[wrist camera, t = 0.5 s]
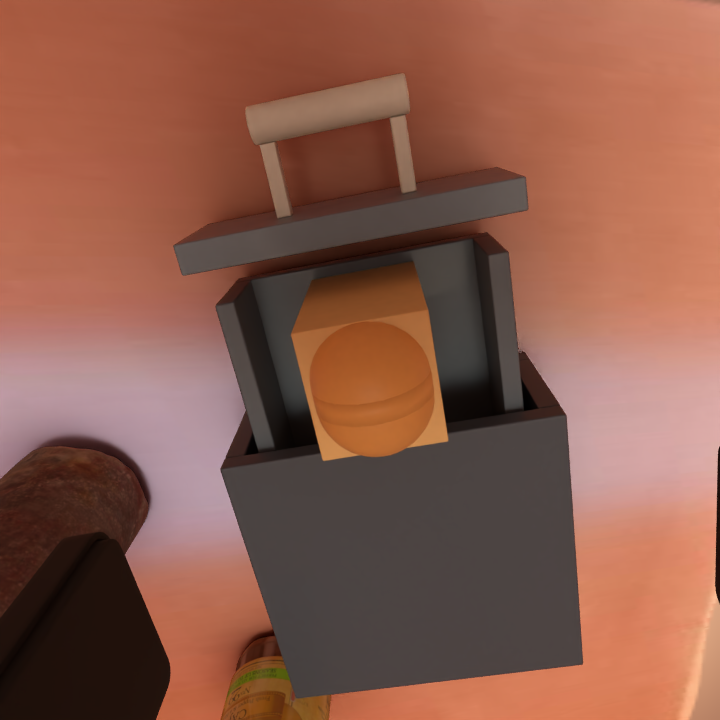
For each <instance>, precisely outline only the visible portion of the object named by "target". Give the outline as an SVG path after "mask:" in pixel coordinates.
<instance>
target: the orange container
mask: <svg viewBox="0 0 720 720" xmlns="http://www.w3.org/2000/svg"><path fill="white" fill-rule="evenodd" d="M291 337H292V341H293V345H294V349H295V353H296V357H297V361H298V365H299V369H300V373H301V377H302V381H303V385H304V389H305V393H306V397H307V401H308V405H309V409H310V413H311V417H312V421H313V425H314V429H315V433H316V437H317V440H318V444H319V448H320V452H321V456H322V460H323V461H326V460H333V459H339V458H346V457H352V456H358V455H362V456H367V457H383V456H388V455H392V454H395V453H398V452H400V451H402V450H404V449H406V448H410V447H416V446H422V445H429V444H435V443H441V442H447V441H448V434H447V427H446V421H445V414H444V408H443V401H442V395H441V389H440V382H439V376H438V369H437V363H436V356H435V350H434V343H433V337H432V331H431V324H430V318H429V311H428V308H427V304H426V301H425V298H424V294H423V291H422V288H421V284H420V281H419V278H418V274H417V271H416V268H415V264H414V262H413V261H411V262H406V263H400V264H395V265H390V266H384V267H379V268H373V269H368V270H363V271H357V272H352V273H346V274H341V275H336V276H330V277H325V278H319V279H314V280H312V281H311V284H310V286H309V289H308V291H307V294H306V296H305V299H304V302H303V304H302V307H301V309H300V312H299V315H298V317H297V320H296V322H295V325H294V327H293V330H292V333H291Z"/></svg>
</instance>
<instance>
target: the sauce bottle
mask: <svg viewBox="0 0 720 720" xmlns="http://www.w3.org/2000/svg"><path fill="white" fill-rule="evenodd" d="M330 701H331V695H324V696H315V697H307V698H299V699H297V698H296V697H295V694H294V691H293V688H292V685H291V682H290V679H289V676H288V673H287V670H286V667H285V664H284V661H283V658H282V655H281V652H280V649H279V646H278V643H277V640H276V637H275V636H270V637H266V638H260V639H258V640H256V641H254V642H253V643H251V644H250V646H249V647H248V648H247V649H246V650H245V651H244V653H243V654H242V655H241V657H240V659H239V661H238V664H237V669H236V673H235V674H234V676H233V678H232V680H231V683H230V687H229V691H228V694H227V698H226V701H225V705H224V709H223V713H222V716H221V720H329V711H330Z"/></svg>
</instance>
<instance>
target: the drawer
mask: <svg viewBox="0 0 720 720" xmlns="http://www.w3.org/2000/svg"><path fill="white" fill-rule="evenodd" d="M409 113H410V100H409V93H408V86H407V81H406V76H405V74H404V73H399V74H395V75H390V76H385V77H381V78H376V79H371V80H367V81H362V82H357V83H353V84H348V85H344V86H339V87H334V88H330V89H325V90H320V91H316V92H311V93H306V94H302V95H297V96H292V97H288V98H283V99H278V100H274V101H269V102H265V103H260V104H255V105H251V106H247V107H246V110H245V114H246V121H247V126H248V130H249V133H250V136H251V138H252V141H253V142H254V144H255V145H260V149H261V153H262V157H263V162H264V166H265V170H266V174H267V178H268V182H269V186H270V191H271V195H272V199H273V203H274V207H275V211H273V212H268V213H263V214H257V215H252V216H247V217H242V218H237V219H232V220H227V221H222V222H217V223H212V224H208V225H206V226H204V227H203V228H201V229H199V230H198V231H196V232H194V233H193V234H191V235H190V236H188V237H186V238H185V239H183V240H181V241H180V242H178V243H176V244H175V245H173V247H174V250H175V254H176V257H177V260H178V263H179V266H180V270H181V273H182V275H183V276H185V275H190V274H195V273H201V272H206V271H211V270H216V269H222V268H227V267H232V266H238V265H243V264H248V263H253V262H259V261H264V260H269V259H274V258H280V257H285V256H290V255H295V254H301V253H306V252H311V251H316V250H322V249H327V248H332V247H338V246H343V245H348V244H353V243H359V242H364V241H369V240H374V239H380V238H385V237H390V236H395V235H401V234H406V233H411V232H416V231H422V230H427V229H432V228H438V227H443V226H448V225H453V224H459V223H464V222H469V221H474V220H480V219H485V218H490V217H495V216H501V215H506V214H511V213H516V212H522V211H527V210H528V197H527V185H526V177H525V176H522V175H519V174H516V173H513V172H510V171H507V170H504V169H501V168H498V167H495V168H490V169H485V170H480V171H475V172H470V173H465V174H460V175H455V176H450V177H445V178H440V179H435V180H430V181H425V182H419V183H416V181H415V174H414V168H413V161H412V154H411V148H410V141H409V134H408V128H407V121H406V116H405V114H409ZM390 117H391V118H390ZM386 118H390V126H391V132H392V138H393V145H394V151H395V157H396V163H397V170H398V176H399V182H400V186H399V187H394V188H389V189H384V190H379V191H374V192H369V193H364V194H359V195H354V196H349V197H344V198H338V199H333V200H328V201H323V202H318V203H313V204H308V205H303V206H298V207H293V208H292V205H291V201H290V196H289V192H288V188H287V183H286V179H285V175H284V170H283V166H282V162H281V157H280V153H279V149H278V144H277V142H275V141H280V140H285V139H290V138H294V137H299V136H304V135H309V134H314V133H318V132H323V131H328V130H333V129H338V128H342V127H347V126H352V125H357V124H362V123H366V122H371V121H376V120H381V119H386ZM411 261H413V262H414V264H415V268H416V271H417V274H418V278H419V281H420V284H421V288H422V291H423V294H424V298H425V301H426V304H427V308H428V311H429V318H430V324H431V331H432V337H433V343H434V350H435V356H436V363H437V369H438V376H439V382H440V389H441V395H442V401H443V408H444V414H445V421H446V423H452V422H459V421H465V420H471V419H478V418H484V417H490V416H496V415H503V414H509V413H515V412H521V411H524V405H523V395H522V384H521V374H520V364H519V354H518V343H517V333H516V323H515V312H514V302H513V292H512V282H511V271H510V261H509V252H508V251H507V250H506V249H505V248H504V247H503V246H502V245H501V244H499V243H498V242H497V241H496V240H495V239H494V238H493V237H492V236H491V235H490V234H489V233H488V232H485V233H479V234H474V235H469V236H463V237H458V238H453V239H447V240H442V241H437V242H431V243H426V244H421V245H415V246H410V247H405V248H399V249H394V250H389V251H383V252H378V253H373V254H367V255H362V256H357V257H351V258H346V259H341V260H335V261H330V262H325V263H320V264H314V265H309V266H304V267H298V268H293V269H288V270H282V271H277V272H272V273H266V274H261V275H256V276H250V277H245V278H240V279H238V280H237V281H236V282H235V284H234V285H233V286H232V287H231V288H230V289H229V291H228V292H227V293H226V294H225V295H224V296H223V297H222V299H221V300H220V301H219V302H218V303H217V304H216V311H217V314H218V317H219V321H220V324H221V327H222V331H223V334H224V337H225V341H226V344H227V347H228V351H229V354H230V358H231V361H232V364H233V368H234V371H235V374H236V378H237V381H238V384H239V388H240V391H241V394H242V398H243V401H244V405H245V408H246V411H247V415H248V418H249V421H250V425H251V428H252V431H253V435H254V438H255V442H256V445H257V448H258V452H259V453H264V452H270V451H277V450H283V449H289V448H296V447H302V446H308V445H314V444H318V440H317V437H316V433H315V429H314V425H313V421H312V417H311V413H310V409H309V405H308V401H307V397H306V393H305V389H304V385H303V381H302V377H301V373H300V369H299V365H298V361H297V357H296V353H295V349H294V345H293V341H292V337H291V333H292V330H293V327H294V325H295V322H296V320H297V317H298V315H299V312H300V309H301V307H302V304H303V302H304V299H305V296H306V294H307V291H308V289H309V286H310V284H311V281H312V280H314V279H319V278H325V277H330V276H336V275H341V274H346V273H352V272H357V271H363V270H368V269H373V268H379V267H384V266H390V265H395V264H400V263H406V262H411Z"/></svg>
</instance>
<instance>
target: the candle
mask: <svg viewBox="0 0 720 720" xmlns="http://www.w3.org/2000/svg"><path fill="white" fill-rule="evenodd" d="M147 513H148V503H147V500H146V499H145V497H144V492H143V491H142V489H141V487H140V484H139V482H138V480H137V478H136V476H135V474H134V472H133V471H132V470H131V469H130V468H129V467H127V466H125V465H124V464H123V463H122V462H121V461H120V460H119V459H117V458H115V457H113V456H108V455H106V454H104V453H103V452H100V451H96V450H92V449H77V448H73V447H64V446H57V447H52V446H48V447H43V448H39V449H37V450H34V451H32V452H31V453H30V454H28V455H27V456H26V457H24V458H23V459H22V460H21V461H20V462H18V463H17V464H16V465H15V466H14V467H13V468H12V469H11V470H10V471H9V472H8V473H6V474H5V475H4V476H3V477H2V478H1V479H0V618H1V616H2V615H3V614H4V613H5V611H6V610H7V609H8V607H9V606H10V605H11V604H12V602H13V601H14V600H15V599H16V597H17V596H18V595H19V593H20V592H21V591H22V590H23V588H24V587H25V586H26V584H27V583H28V582H29V581H30V579H31V578H32V577H33V575H34V574H35V573H36V572H37V570H38V569H39V568H40V567H41V565H42V564H43V563H44V561H45V560H46V559H47V558H48V556H49V555H50V554H51V552H52V551H53V550H54V549H55V547H56V546H57V545H58V543H59V542H60V541H61V540H62V539H64V538H66V537H69V536H75V535H81V534H88V533H94V532H104V533H105V534H106V535H108V536H109V538H110V539H115V540H117V541H118V542H119V544H120V546H121V548H122V550H123V552H124V555H125V553H126V552H127V550H128V548H129V547H130V545H131V543H132V542H133V540H134V538H135V537H136V535H137V534H138V532H139V530H140V528H141V527H142V525H143V523H144V522H145V519H146V517H147Z"/></svg>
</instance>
